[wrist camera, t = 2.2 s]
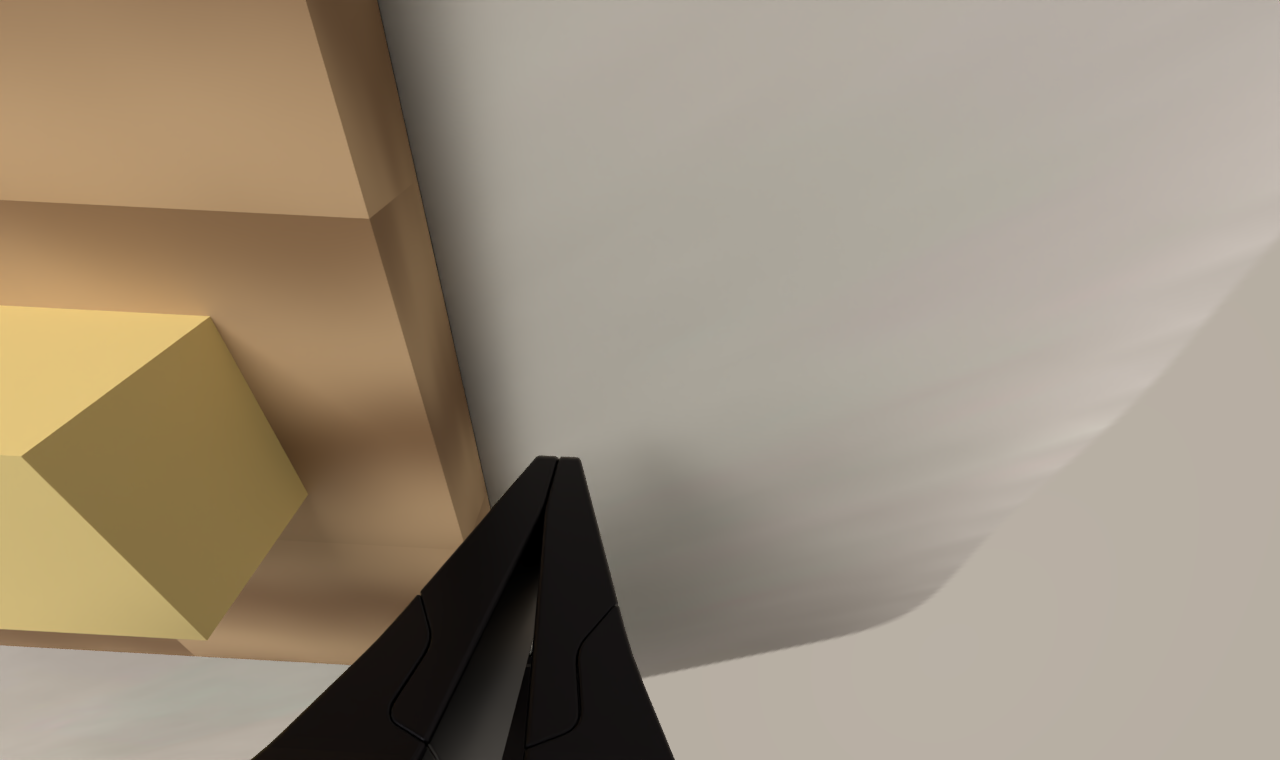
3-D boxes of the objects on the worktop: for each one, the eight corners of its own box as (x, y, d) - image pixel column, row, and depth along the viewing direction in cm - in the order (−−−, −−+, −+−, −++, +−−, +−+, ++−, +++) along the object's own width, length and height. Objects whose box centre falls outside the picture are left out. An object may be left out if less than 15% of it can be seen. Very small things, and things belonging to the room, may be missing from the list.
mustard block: (308, 494, 12) (206, 640, 10) (103, 483, 12) (-56, 625, 10) (210, 316, 9) (21, 456, 7) (-61, 302, 9) (-362, 436, 7)
